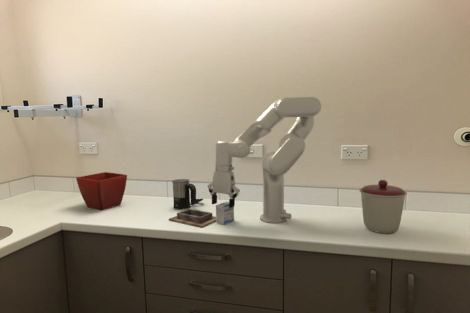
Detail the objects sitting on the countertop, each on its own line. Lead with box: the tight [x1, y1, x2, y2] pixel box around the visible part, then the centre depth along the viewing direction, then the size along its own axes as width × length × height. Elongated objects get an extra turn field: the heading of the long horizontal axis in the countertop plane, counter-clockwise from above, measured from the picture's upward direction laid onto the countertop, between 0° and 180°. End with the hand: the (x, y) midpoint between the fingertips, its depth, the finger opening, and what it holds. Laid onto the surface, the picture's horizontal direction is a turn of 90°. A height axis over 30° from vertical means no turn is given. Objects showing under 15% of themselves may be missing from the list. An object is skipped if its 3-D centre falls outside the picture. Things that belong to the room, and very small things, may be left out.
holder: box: [168, 208, 216, 229], centre depth 158 cm, size 20×14×3 cm
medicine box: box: [215, 201, 235, 226], centre depth 154 cm, size 8×4×9 cm, turn 143°
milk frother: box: [171, 178, 204, 210], centre depth 182 cm, size 14×16×15 cm
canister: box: [359, 179, 408, 234], centre depth 141 cm, size 18×18×21 cm
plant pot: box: [75, 171, 128, 211], centre depth 184 cm, size 19×19×17 cm
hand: (222, 205), depth 154 cm, fingers open, 9 cm apart
